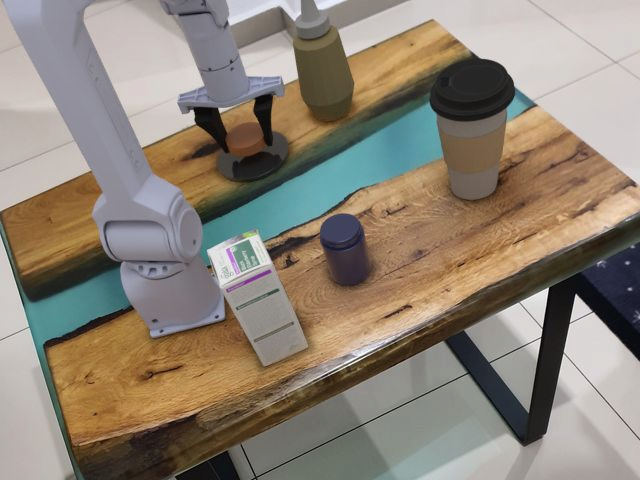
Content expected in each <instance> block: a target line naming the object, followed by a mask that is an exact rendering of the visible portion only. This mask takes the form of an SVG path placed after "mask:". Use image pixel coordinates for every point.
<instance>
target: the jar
mask: <svg viewBox="0 0 640 480" xmlns="http://www.w3.org/2000/svg"><path fill="white" fill-rule="evenodd" d="M319 243H320V246H321V249H322V253H323V257H324V260H325V263H326V266H327V270H328V272H329V275H330V278H331V280H332V281H333V282H334V283H336V284H337V285H340V286H343V287H353V286H357V285H359V284H361V283H363V282H364V281H366V280H367V279H368V278H369V277H370V275H371V273H372V270H373V265H372V259H371V255H370V250H369V246H368V242H367V237H366V233H365V229H364V226H363V225H362V223H361V220H359V219H358V218H357V217H356V215H353V214H351V213H346V212H341V213H336V214H333V215H331V216H329V217H327V218H326V219H325V220H324V221H323V222H322V223H321V225H320V228H319Z"/></svg>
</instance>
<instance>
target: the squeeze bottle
mask: <svg viewBox="0 0 640 480" xmlns="http://www.w3.org/2000/svg"><path fill="white" fill-rule="evenodd" d="M294 26H295V31H296V34H295V36H294V37H293V40H292V46H293V54H294V60H295V66H296V71H297V72H296V73H297V78H298V79H297V80H298V85H299V86H298V87H299V92H300V96H301V99H302V101H303V103H304V104H305V105H306V107H307V108H308V110H309V111H310V112H311V114H312V115H313V117H314V118H315V119H317V120H318V121H321V122H335V121H337V120H340V119H342V118H344V117H345V116H347V115H348V113H349V112H351V109H352V104H353V96H354V89H355V80H354V76H353V74H352V70H351V66H350V65H349V61H348V58H347V54H346V51H345V49H344V45H343V42H342V39H341V36H340V32H339V30H338V28H337V27H336V26H334V25H333V24H331V22H330V17H329V14H328V12H327V11H326V10H324V9H319V8H318V6H317V4H316V1H315V0H300V14H299V15H298V16H297V17H296V18H295V21H294Z"/></svg>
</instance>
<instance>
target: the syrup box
mask: <svg viewBox="0 0 640 480" xmlns="http://www.w3.org/2000/svg"><path fill="white" fill-rule="evenodd" d="M206 253H207V256H208V259H209V262H210V265H211V268H212V273H214V275H215V276H214V277H216V279H217V282H218V284H219V287H220V289H221V291H222V292H223V294H224V299H225V300H226V301H227V304H228V305H229V307H230V309H231V311H232V313H233V315H234V316H235V318H236V320H237V321H238V324H239V326H240V328H241V329H242V331H243V333H244V334H245V336H246V338H247V339H248V342H249V343H250V345H251V347H252V348H253V350H254V353H255V355H256V356H257V358H258V359H259V362H260V363H261V365H262V366H263V367H268V366H270V365H273V364H275V363H277V362H280V361H282V360H284V359H286V358H289V357H291V356H293V355H295V354H297V353H299V352H302V351H303V350H306V349H308V348H309V344H308V340H307V339H306V336H305V334H304V332H303V329H302V326H301V324H300V322H299V319H298V317H297V314H296V312H295V309H294V307H293V305H292V302H291V300H290V298H289V295H288V293H287V290H286V289H285V286H284V283H283V281H282V279H281V277H280V275H279V273H278V271H277V269H276V267H275V265H274V262H273V260H272V257H271V255H270V254H269V252H268V250H267V248H266V245H265V244H264V241H263V239H262V237H261V235H260V232H259V230H258V229H256V228H255V229H252V230H248V231H246V232H243V233H240V234H238V235H235V236H233V237H231V238H228V239H226V240H224V241H222V242H220V243H218V244H216V245H214V246H213V247H211V248H208V249H206Z"/></svg>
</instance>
